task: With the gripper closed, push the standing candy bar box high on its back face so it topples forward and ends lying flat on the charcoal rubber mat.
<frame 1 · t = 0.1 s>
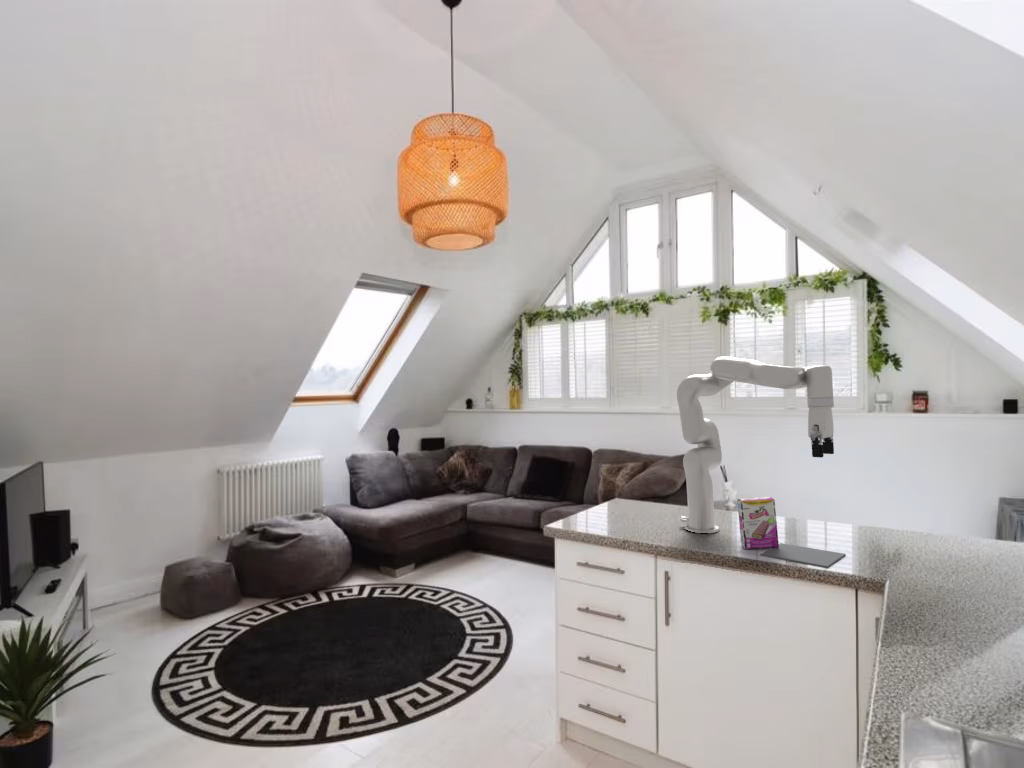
hand: (823, 455, 184), 31 cm above the worktop, tool pointing down, fingers open, 9 cm apart
mat: (802, 555, 180), on the worktop
candy bar box: (760, 547, 190), on the worktop, touching mat
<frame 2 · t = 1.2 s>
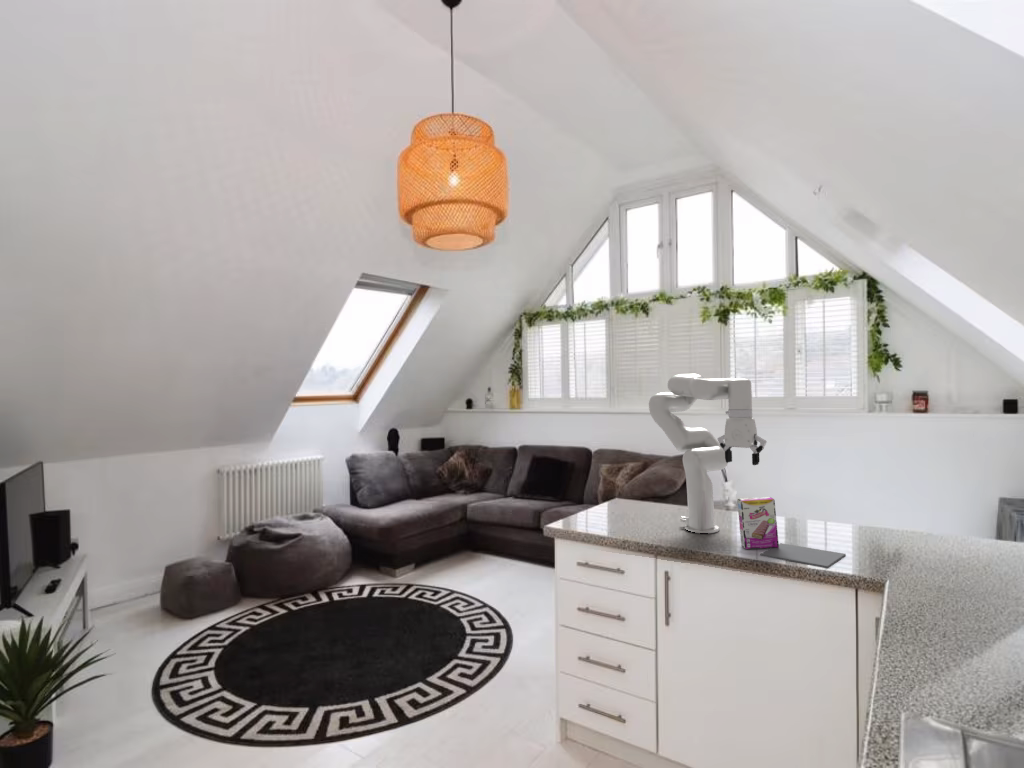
hand: (742, 463, 195), 28 cm above the worktop, tool pointing down, fingers open, 9 cm apart
nothing on the worktop moved.
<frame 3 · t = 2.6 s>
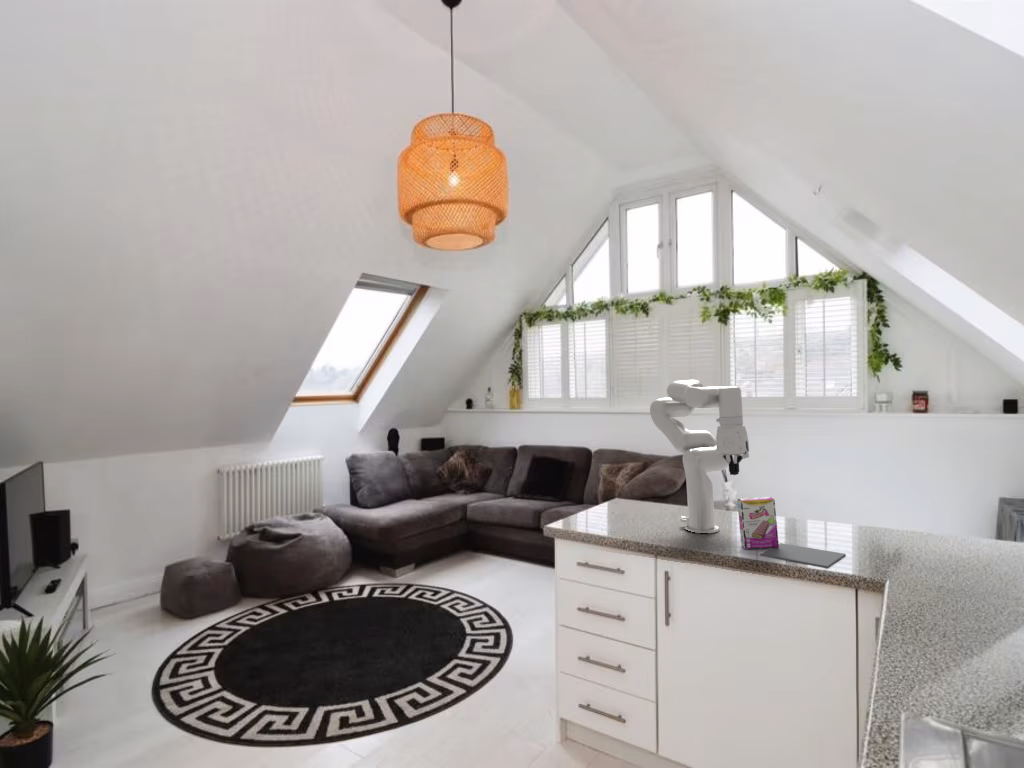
hand: (734, 474, 196), 24 cm above the worktop, tool pointing down, fingers closed
nothing on the worktop moved.
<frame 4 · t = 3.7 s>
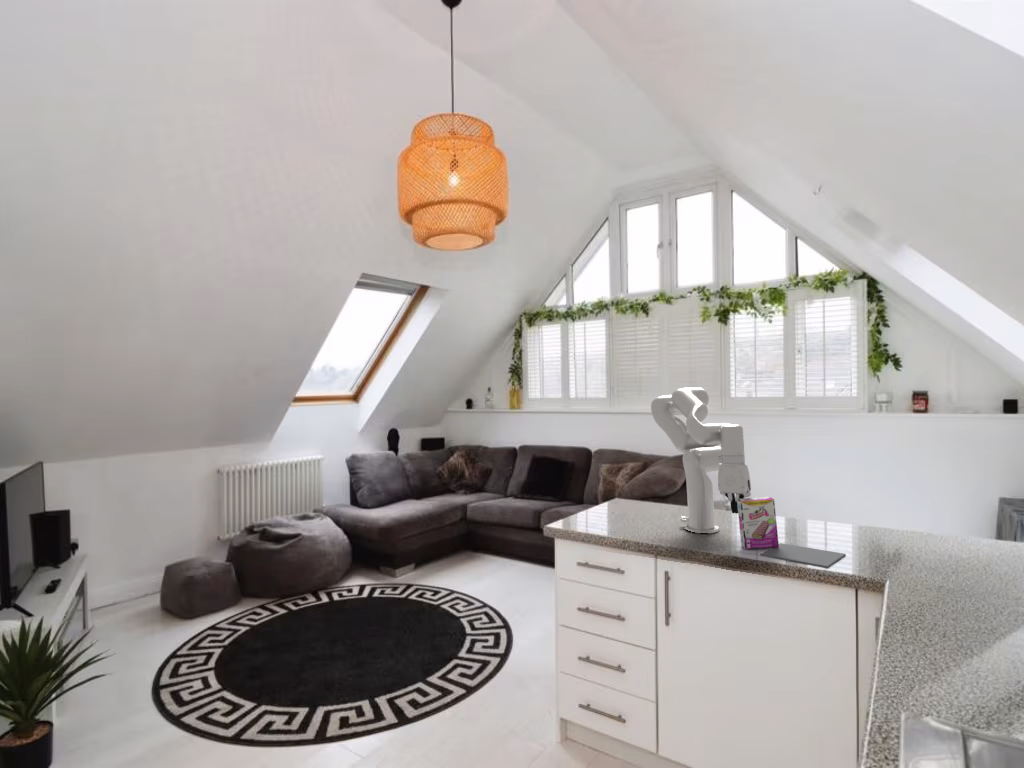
hand: (736, 512, 196), 11 cm above the worktop, tool pointing down, fingers closed
nothing on the worktop moved.
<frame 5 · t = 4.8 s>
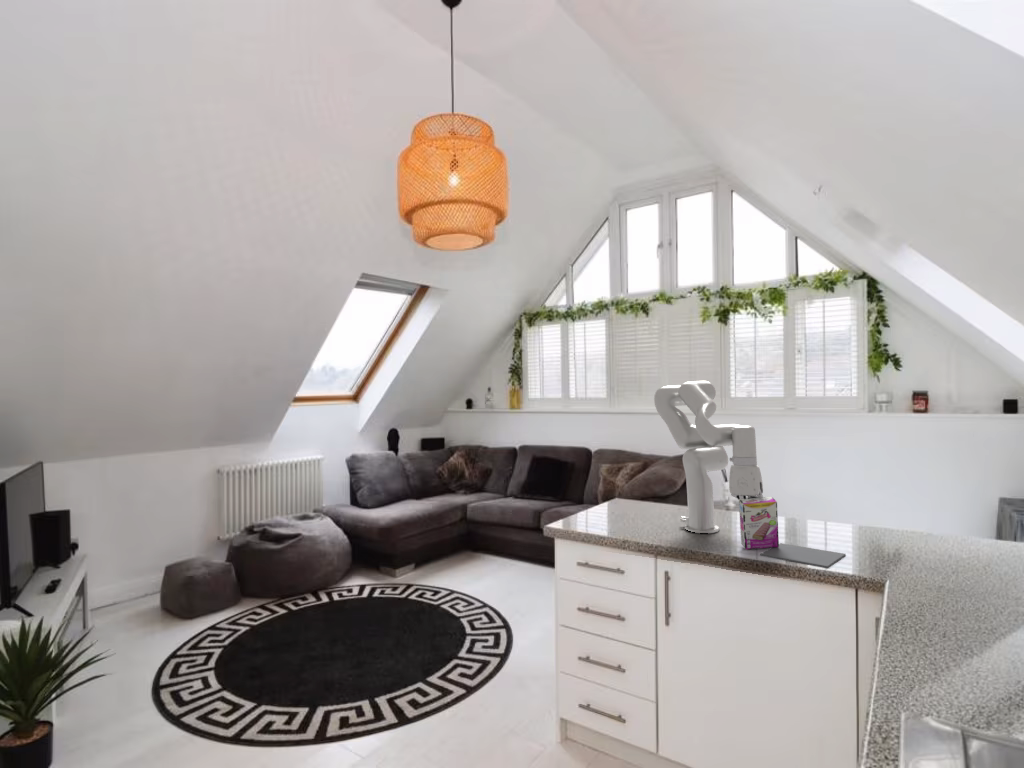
hand: (747, 515, 193), 11 cm above the worktop, tool pointing down, fingers closed
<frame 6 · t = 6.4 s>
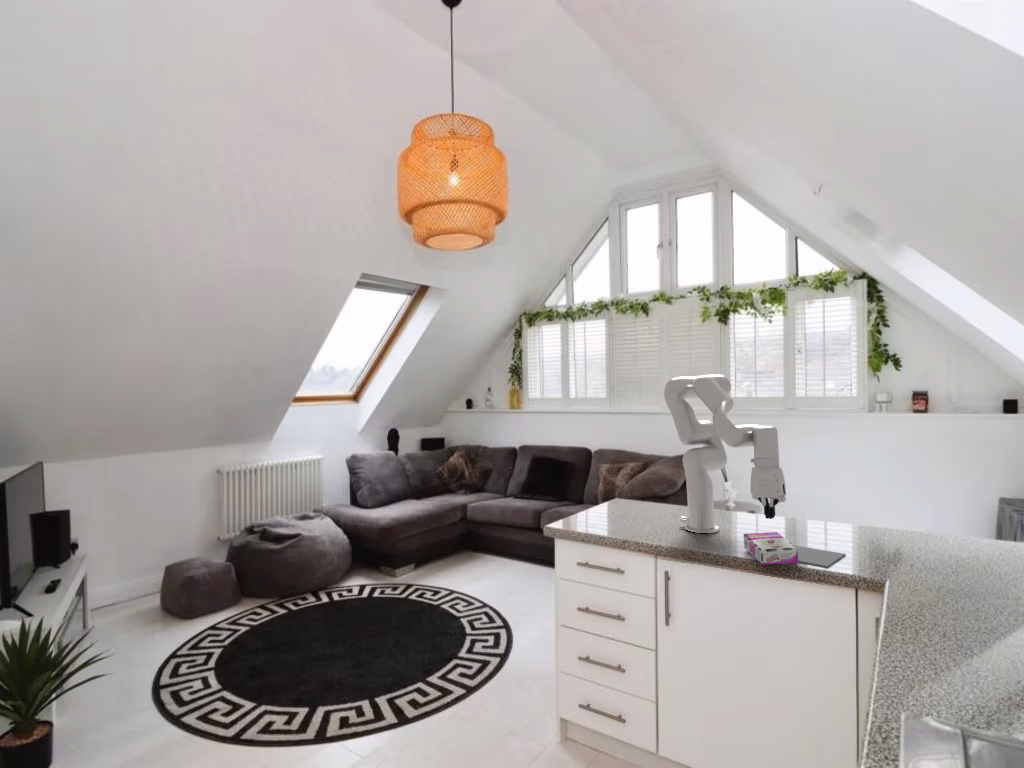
hand: (769, 517, 187), 11 cm above the worktop, tool pointing down, fingers closed
candy bar box: (760, 539, 188), point 3 cm above the worktop, touching mat
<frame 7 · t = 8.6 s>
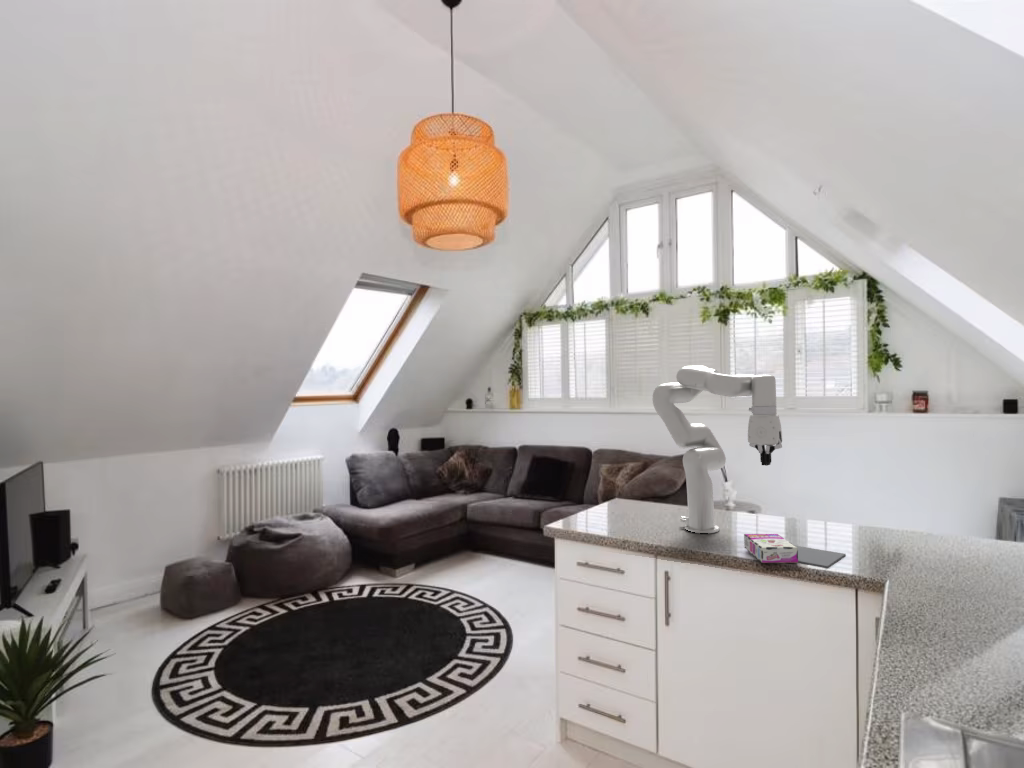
hand: (766, 464, 191), 28 cm above the worktop, tool pointing down, fingers closed
nothing on the worktop moved.
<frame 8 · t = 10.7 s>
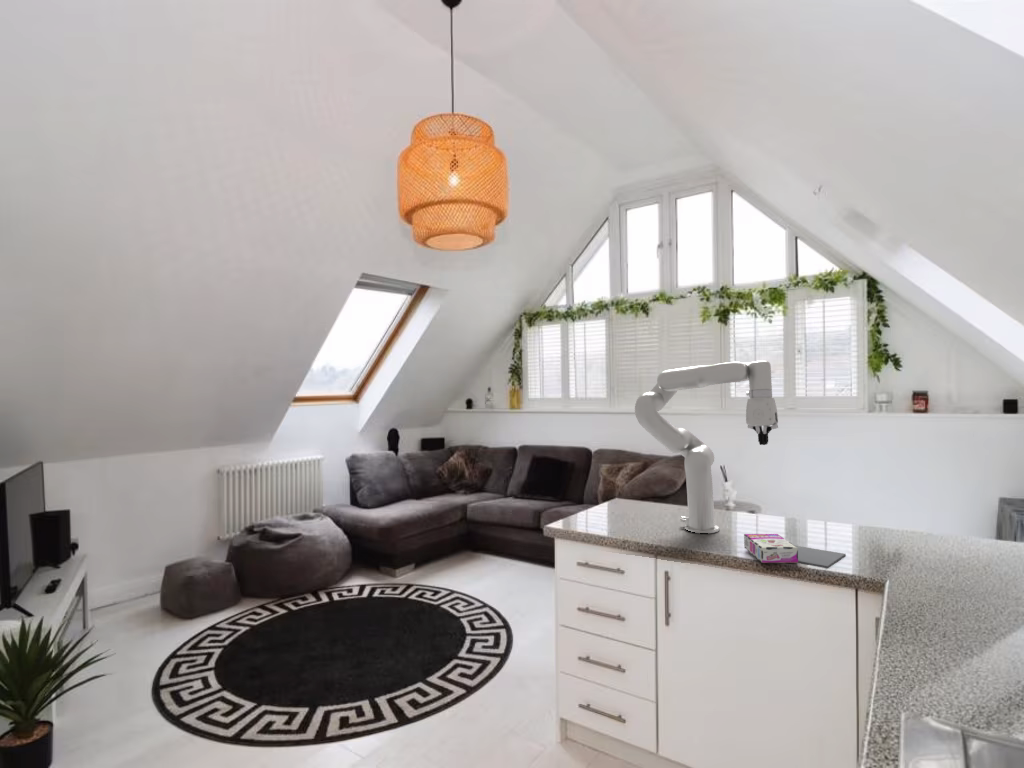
hand: (763, 444, 206), 33 cm above the worktop, tool pointing down, fingers closed
nothing on the worktop moved.
at the end: candy bar box tilted 90°; candy bar box touching mat; the gripper is holding nothing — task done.
